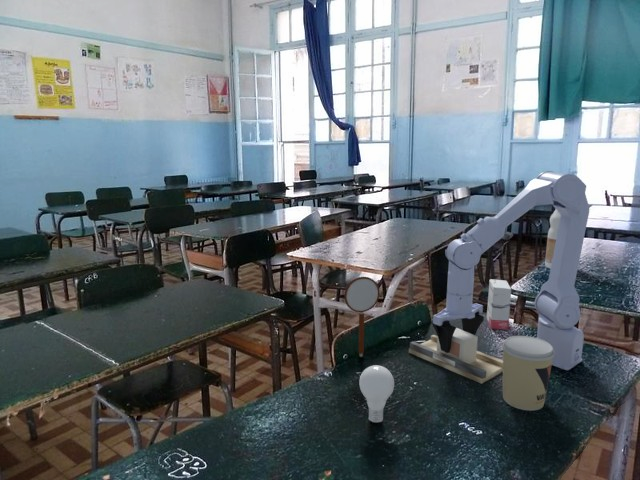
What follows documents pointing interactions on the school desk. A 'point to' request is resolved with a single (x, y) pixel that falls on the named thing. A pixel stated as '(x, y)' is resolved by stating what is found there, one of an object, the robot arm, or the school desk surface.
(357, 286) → the magnifying glass
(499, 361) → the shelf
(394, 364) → the school desk surface
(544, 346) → the cream lidded canister
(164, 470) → the school desk surface
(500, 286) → the ink box
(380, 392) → the lightbulb
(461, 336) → the carton
